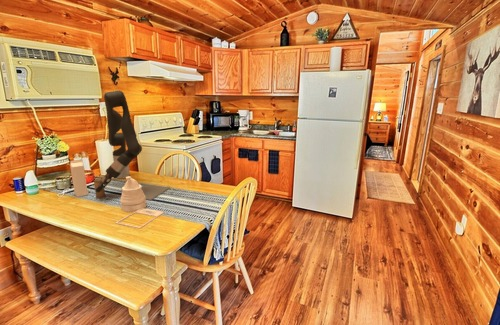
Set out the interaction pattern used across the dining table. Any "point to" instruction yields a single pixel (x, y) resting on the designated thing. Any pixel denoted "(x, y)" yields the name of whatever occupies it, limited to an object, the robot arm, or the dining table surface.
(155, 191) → the slate mat
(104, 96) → the robot arm
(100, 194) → the walnut peg
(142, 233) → the dining table surface
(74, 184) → the milk
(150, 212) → the photo frame
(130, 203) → the honey pot
